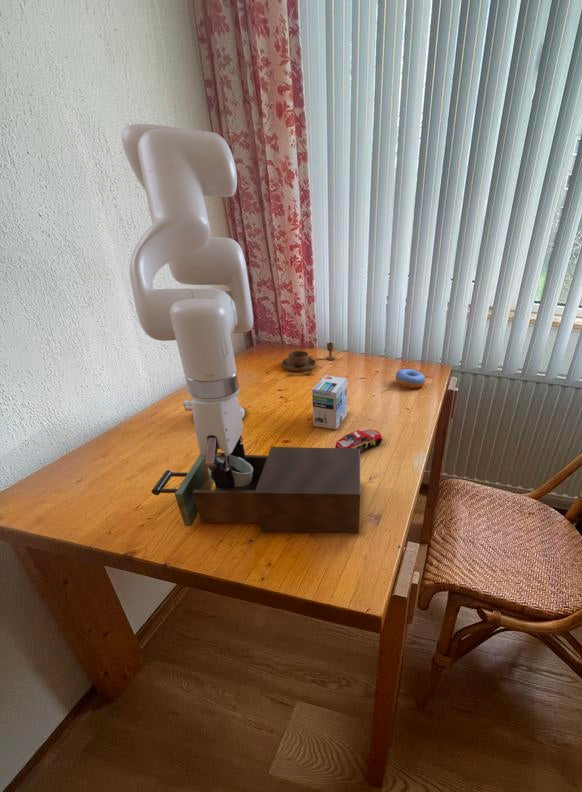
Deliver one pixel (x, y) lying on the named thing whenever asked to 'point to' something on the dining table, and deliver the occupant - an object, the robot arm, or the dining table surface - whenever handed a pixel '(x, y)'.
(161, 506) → the dining table surface
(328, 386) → the light bulb box
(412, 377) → the doughnut
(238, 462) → the wristwatch
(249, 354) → the dining table surface
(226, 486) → the robot arm
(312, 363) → the place setting
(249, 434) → the dining table surface
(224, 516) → the drawer
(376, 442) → the race car
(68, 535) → the dining table surface
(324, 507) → the cabinet
